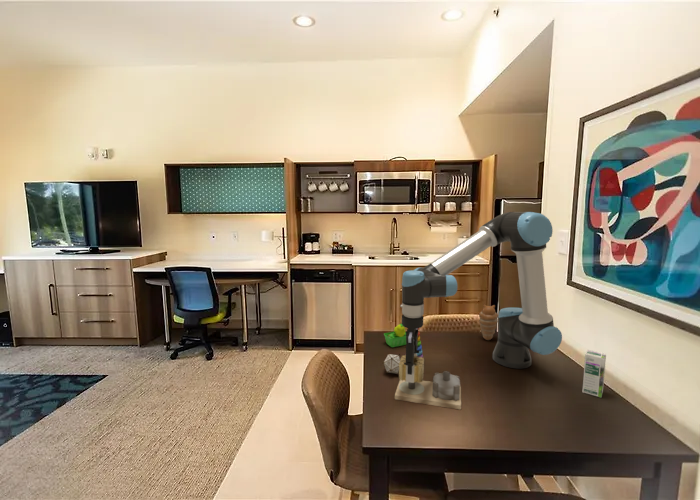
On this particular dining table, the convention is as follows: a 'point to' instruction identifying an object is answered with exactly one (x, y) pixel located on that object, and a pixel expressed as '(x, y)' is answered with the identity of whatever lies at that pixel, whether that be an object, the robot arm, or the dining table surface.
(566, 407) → the dining table surface
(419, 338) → the stacking toy
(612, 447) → the dining table surface
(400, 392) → the gear board
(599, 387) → the syrup box
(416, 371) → the brass gear
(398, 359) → the game die
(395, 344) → the fruit basket
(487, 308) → the cat ice cream
